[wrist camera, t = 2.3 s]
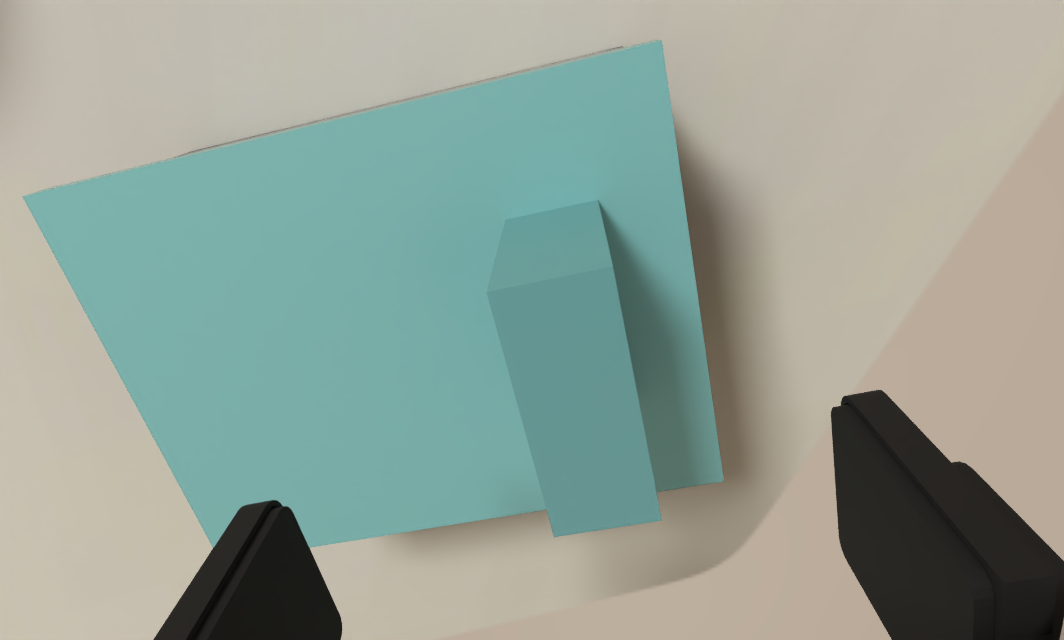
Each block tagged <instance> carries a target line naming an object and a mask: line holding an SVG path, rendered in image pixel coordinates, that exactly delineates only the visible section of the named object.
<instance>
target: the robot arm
mask: <svg viewBox="0 0 1064 640" xmlns="http://www.w3.org/2000/svg"><path fill="white" fill-rule="evenodd" d="M831 422H832V437H833V453H834V467H835V483H836V498H837V513H838V529H839V539H840V544H841V547H842V551H843V553H844V556H845V558H846V560H847V562H848V564H849V565H850V567H851V569H852V571H853V572H854V574H855V576H856V578H857V579H858V581H859V583H860V585H861V586H862V588H863V590H864V592H865V593H866V595H867V597H868V599H869V600H870V602H871V604H872V605H873V607H874V609H875V611H876V613H877V614H878V616H879V618H880V620H881V621H882V623H883V625H884V627H885V628H886V630H887V632H888V634H889V635H890V637H891V639H892V640H1064V561H1063V560H1062V559H1061V558H1060V557H1059V556H1058V555H1057V554H1056V553H1055V552H1054V551H1053V550H1052V549H1051V548H1050V547H1049V546H1048V545H1047V544H1046V543H1045V542H1044V541H1043V540H1042V539H1041V538H1040V537H1039V536H1038V535H1037V534H1036V533H1035V532H1034V531H1033V530H1032V529H1031V527H1029V525H1028V524H1026V522H1025V521H1024V520H1023V519H1022V518H1021V517H1020V516H1019V515H1018V514H1017V513H1016V512H1015V511H1014V510H1013V509H1012V508H1011V507H1010V506H1009V505H1008V504H1007V503H1006V502H1005V501H1004V500H1003V499H1002V498H1001V497H1000V496H999V495H998V494H997V493H996V492H995V491H994V490H993V489H992V488H991V487H990V486H989V485H988V484H987V483H986V482H985V481H984V480H983V479H982V478H981V477H980V476H979V475H978V474H977V473H976V472H975V471H974V470H973V469H972V468H971V467H970V466H968V465H967V464H965V463H962V462H953V463H951V462H950V461H949V460H948V459H947V458H946V457H945V456H944V455H943V453H942V452H941V451H940V450H939V449H938V448H937V447H936V446H935V445H934V444H933V443H932V442H931V441H930V440H929V439H928V438H927V437H926V436H925V435H924V434H923V432H921V431H920V429H919V428H918V427H917V426H916V425H915V424H914V423H913V422H912V421H911V420H910V419H909V418H908V417H907V416H906V414H905V413H904V412H903V411H902V410H901V409H900V408H899V407H898V406H897V405H896V404H895V403H894V402H893V401H892V400H891V399H890V398H889V397H888V396H887V394H885V393H884V392H883V391H882V390H876V391H870V392H864V393H859V394H853V395H848V396H844V397H843V398H842V401H841V406H838V407H833V408H832V411H831ZM341 635H342V622H341V617H340V614H339V612H338V610H337V608H336V606H335V603H334V601H333V599H332V597H331V595H330V592H329V590H328V588H327V586H326V584H325V581H324V579H323V577H322V575H321V573H320V570H319V568H318V566H317V564H316V562H315V559H314V557H313V555H312V553H311V551H310V548H309V546H308V544H307V542H306V540H305V537H304V535H303V533H302V531H301V529H300V526H299V524H298V522H297V520H296V518H295V516H294V513H293V512H292V510H291V509H290V508H289V507H287V506H282V504H281V503H280V502H279V501H277V500H270V501H265V502H259V503H254V504H248V505H244V506H242V507H241V508H240V509H239V510H238V511H237V513H236V514H235V516H234V517H233V519H232V521H231V522H230V524H229V525H228V527H227V528H226V530H225V531H224V533H223V534H222V536H221V537H220V539H219V540H218V542H217V543H216V545H215V546H214V548H213V550H212V551H211V553H210V554H209V556H208V557H207V559H206V560H205V562H204V563H203V565H202V566H201V568H200V569H199V571H198V572H197V574H196V575H195V577H194V579H193V580H192V582H191V583H190V585H189V586H188V588H187V589H186V591H185V592H184V594H183V595H182V597H181V598H180V600H179V601H178V603H177V605H176V606H175V608H174V609H173V611H172V612H171V614H170V615H169V617H168V618H167V620H166V621H165V623H164V624H163V626H162V627H161V629H160V630H159V632H158V634H157V635H156V637H155V638H154V640H341Z"/></svg>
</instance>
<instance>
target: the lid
mask: <svg viewBox="0 0 1064 640" xmlns="http://www.w3.org/2000/svg"><path fill="white" fill-rule="evenodd" d="M23 199H24V200H25V202H26V204H27V206H28V208H29V210H30V211H31V213H32V215H33V217H34V219H35V221H36V222H37V224H38V226H39V228H40V230H41V232H42V233H43V235H44V237H45V239H46V241H47V243H48V245H49V246H50V248H51V250H52V252H53V254H54V256H55V257H56V259H57V261H58V263H59V265H60V267H61V268H62V270H63V272H64V274H65V276H66V278H67V280H68V281H69V283H70V285H71V287H72V289H73V291H74V292H75V294H76V296H77V298H78V300H79V302H80V303H81V305H82V307H83V309H84V311H85V313H86V315H87V316H88V318H89V320H90V322H91V324H92V326H93V327H94V329H95V331H96V333H97V335H98V337H99V338H100V340H101V342H102V344H103V346H104V348H105V349H106V351H107V353H108V355H109V357H110V359H111V361H112V362H113V364H114V366H115V368H116V370H117V372H118V373H119V375H120V377H121V379H122V381H123V383H124V384H125V386H126V388H127V390H128V392H129V394H130V396H131V397H132V399H133V401H134V403H135V405H136V407H137V408H138V410H139V412H140V414H141V416H142V418H143V419H144V421H145V423H146V425H147V427H148V429H149V431H150V432H151V434H152V436H153V438H154V440H155V442H156V443H157V445H158V447H159V449H160V451H161V453H162V454H163V456H164V458H165V460H166V462H167V464H168V466H169V467H170V469H171V471H172V473H173V475H174V477H175V478H176V480H177V482H178V484H179V486H180V488H181V489H182V491H183V493H184V495H185V497H186V499H187V500H188V502H189V504H190V506H191V508H192V510H193V512H194V513H195V515H196V517H197V519H198V521H199V523H200V524H201V526H202V528H203V530H204V532H205V534H206V535H207V537H208V539H209V541H210V543H211V545H212V547H213V548H214V546H215V545H216V543H217V542H218V540H219V539H220V537H221V536H222V534H223V533H224V531H225V530H226V528H227V527H228V525H229V524H230V522H231V521H232V519H233V517H234V516H235V514H236V513H237V511H238V510H239V509H240V508H241V507H242V506H244V505H248V504H254V503H259V502H265V501H270V500H277V501H279V502H280V503H281V504H282V506H287V507H289V508H290V509H291V510H292V512H293V513H294V516H295V518H296V520H297V522H298V524H299V526H300V529H301V531H302V533H303V535H304V537H305V540H306V542H307V544H308V546H309V548H310V547H316V546H322V545H329V544H335V543H341V542H347V541H354V540H360V539H366V538H372V537H379V536H385V535H391V534H397V533H404V532H410V531H416V530H422V529H429V528H435V527H441V526H448V525H454V524H460V523H466V522H473V521H479V520H485V519H491V518H498V517H504V516H510V515H516V514H523V513H529V512H535V511H541V510H547V513H548V517H549V520H550V524H551V527H552V531H553V535H554V537H558V536H564V535H571V534H577V533H584V532H590V531H597V530H603V529H610V528H616V527H623V526H629V525H635V524H642V523H648V522H655V521H661V520H662V519H661V514H660V509H659V503H658V498H657V493H656V492H660V491H667V490H673V489H679V488H686V487H692V486H698V485H704V484H711V483H717V482H723V481H724V478H723V471H722V464H721V457H720V450H719V443H718V436H717V429H716V422H715V415H714V407H713V400H712V393H711V386H710V379H709V372H708V365H707V358H706V351H705V344H704V337H703V329H702V322H701V315H700V308H699V301H698V294H697V287H696V280H695V273H694V266H693V258H692V251H691V244H690V237H689V230H688V223H687V216H686V209H685V202H684V195H683V187H682V180H681V173H680V166H679V159H678V152H677V145H676V138H675V131H674V124H673V116H672V109H671V102H670V95H669V88H668V81H667V74H666V67H665V60H664V53H663V45H662V41H661V40H654V41H650V42H646V43H642V44H638V45H634V46H630V47H626V48H622V49H617V50H613V51H609V52H605V53H601V54H597V55H593V56H589V57H585V58H581V59H577V60H572V61H568V62H564V63H560V64H556V65H552V66H548V67H544V68H540V69H536V70H531V71H527V72H523V73H519V74H515V75H511V76H507V77H503V78H499V79H495V80H491V81H486V82H482V83H478V84H474V85H470V86H466V87H462V88H458V89H454V90H450V91H445V92H441V93H437V94H433V95H429V96H425V97H421V98H417V99H413V100H409V101H405V102H400V103H396V104H392V105H388V106H384V107H380V108H376V109H372V110H368V111H364V112H359V113H355V114H351V115H347V116H343V117H339V118H335V119H331V120H327V121H323V122H319V123H314V124H310V125H306V126H302V127H298V128H294V129H290V130H286V131H282V132H278V133H273V134H269V135H265V136H261V137H257V138H253V139H249V140H245V141H241V142H237V143H233V144H228V145H224V146H220V147H216V148H212V149H208V150H204V151H200V152H196V153H192V154H187V155H183V156H179V157H175V158H171V159H167V160H163V161H159V162H155V163H151V164H147V165H142V166H138V167H134V168H130V169H126V170H122V171H118V172H114V173H110V174H106V175H101V176H97V177H93V178H89V179H85V180H81V181H77V182H73V183H69V184H65V185H61V186H56V187H52V188H48V189H44V190H41V191H38V192H35V193H32V194H29V195H26V196H23Z"/></svg>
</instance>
